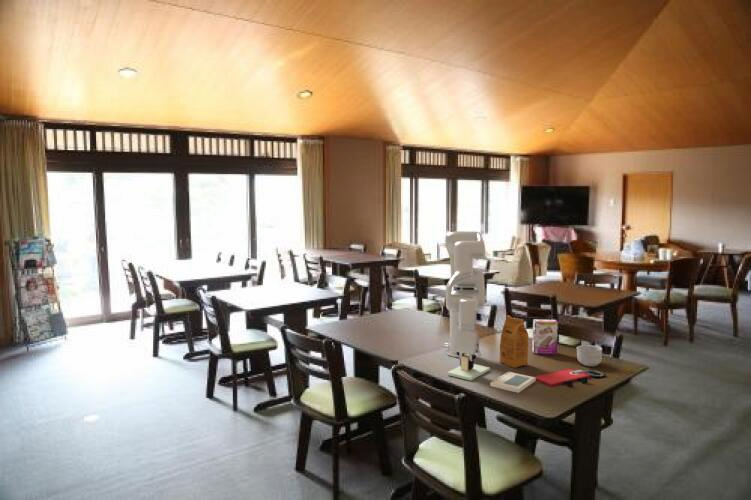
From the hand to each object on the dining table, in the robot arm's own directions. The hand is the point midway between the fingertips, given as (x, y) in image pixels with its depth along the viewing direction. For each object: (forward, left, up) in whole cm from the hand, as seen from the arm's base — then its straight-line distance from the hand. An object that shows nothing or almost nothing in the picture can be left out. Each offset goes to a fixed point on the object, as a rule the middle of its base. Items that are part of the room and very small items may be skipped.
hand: (466, 367), depth 227 cm
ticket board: (+22, 0, -2) cm, 22 cm away
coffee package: (+11, +24, -2) cm, 26 cm away
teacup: (+39, +46, -3) cm, 60 cm away
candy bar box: (+16, +49, -2) cm, 51 cm away
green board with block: (+1, 0, -2) cm, 2 cm away
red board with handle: (+38, +21, -3) cm, 43 cm away
